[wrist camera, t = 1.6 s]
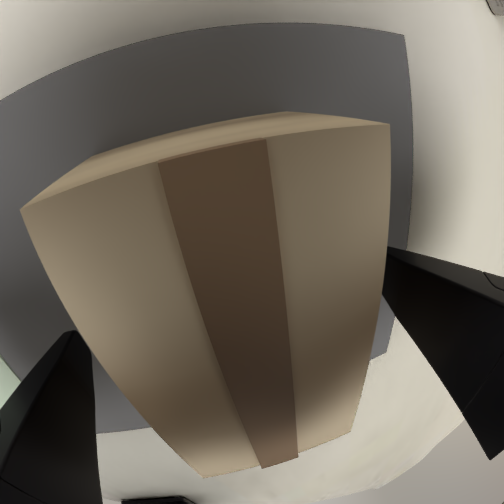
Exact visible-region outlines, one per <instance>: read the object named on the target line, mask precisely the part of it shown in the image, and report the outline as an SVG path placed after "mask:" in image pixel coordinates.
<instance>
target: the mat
mask: <svg viewBox="0 0 504 504" xmlns="http://www.w3.org/2000/svg"><path fill="white" fill-rule="evenodd" d="M286 111H288V112H302V113H314V114H324V115H333V116H341V117H349V118H356V119H363V120H369V121H375V122H381V123H387V124H390V139H391V191H390V214H389V230H388V242H387V246H390V247H394V248H398V249H402V250H406V248H407V240H408V231H409V221H410V210H411V195H412V174H413V122H412V102H411V89H410V78H409V68H408V60H407V53H406V46H405V39H404V35H401V34H396V33H391V32H385V31H380V30H374V29H367V28H360V27H352V26H342V25H331V24H315V23H258V24H242V25H231V26H221V27H213V28H206V29H199V30H193V31H187V32H181V33H176V34H171V35H166V36H162V37H157V38H153V39H149V40H145V41H141V42H137V43H134V44H130V45H127V46H123V47H120V48H117V49H113V50H110V51H107V52H104V53H101V54H98V55H96V56H93V57H90V58H87V59H85V60H82V61H79V62H77V63H74V64H72V65H70V66H67V67H65V68H62V69H60V70H58V71H56V72H53V73H51V74H49V75H47V76H45V77H43V78H41V79H39V80H37V81H35V82H33V83H31V84H29V85H27V86H25V87H23V88H21V89H19V90H18V91H16V92H14V93H12V94H10V95H9V96H7V97H5V98H4V99H2V100H0V409H1V408H2V406H3V405H4V404H5V402H6V401H7V400H8V398H9V397H10V396H11V394H12V393H13V392H14V391H15V389H16V388H17V387H18V386H19V384H20V383H21V382H22V381H23V379H24V378H25V377H26V376H27V374H28V373H29V372H30V371H31V370H32V368H33V367H34V366H35V365H36V364H37V362H38V361H39V360H40V359H41V358H42V357H43V355H44V354H45V353H46V352H47V351H48V350H49V348H50V347H51V346H52V345H53V344H54V343H55V342H56V340H57V339H58V338H59V337H60V336H61V335H62V334H63V333H64V332H66V331H70V330H77V331H78V332H79V330H78V329H77V327H76V325H75V324H74V322H73V320H72V319H71V317H70V315H69V314H68V312H67V310H66V309H65V307H64V305H63V303H62V301H61V300H60V298H59V296H58V294H57V292H56V290H55V288H54V287H53V285H52V283H51V281H50V279H49V277H48V275H47V273H46V271H45V269H44V267H43V264H42V262H41V260H40V258H39V256H38V254H37V251H36V249H35V247H34V245H33V242H32V240H31V238H30V235H29V233H28V230H27V228H26V225H25V223H24V220H23V217H22V215H21V212H20V209H21V208H22V207H23V206H24V205H26V204H27V203H28V202H29V201H30V200H32V199H33V198H34V197H35V196H37V195H38V194H39V193H41V192H42V191H43V190H44V189H46V188H47V187H48V186H50V185H51V184H52V183H54V182H55V181H57V180H58V179H59V178H61V177H62V176H63V175H65V174H66V173H68V172H69V171H71V170H72V169H73V168H75V167H76V166H78V165H79V164H81V163H82V162H84V161H85V160H87V159H88V158H90V157H92V156H94V155H97V154H100V153H103V152H106V151H109V150H112V149H115V148H118V147H121V146H124V145H128V144H131V143H134V142H138V141H141V140H145V139H148V138H152V137H156V136H159V135H163V134H167V133H171V132H175V131H179V130H183V129H188V128H192V127H197V126H201V125H206V124H211V123H216V122H221V121H226V120H232V119H237V118H243V117H249V116H256V115H263V114H270V113H277V112H286ZM394 318H395V315H394V313H393V312H392V310H391V309H390V307H389V305H388V304H387V302H386V300H385V299H384V297H383V295H382V294H381V301H380V307H379V314H378V320H377V325H376V331H375V336H374V341H373V346H372V351H371V356H370V360H371V359H373V358H375V357H378V356H380V355H382V354H384V353H386V351H387V347H388V343H389V339H390V335H391V331H392V327H393V322H394ZM79 333H80V332H79ZM80 335H81V334H80ZM81 336H82V335H81ZM82 338H83V337H82ZM83 340H84V338H83ZM84 341H85V340H84ZM85 343H86V341H85ZM86 344H87V343H86ZM87 346H88V344H87ZM88 347H89V346H88ZM89 349H90V347H89ZM90 351H91V354H92V366H93V380H94V391H95V415H96V434H98V433H109V432H119V431H127V430H135V429H142V428H149V427H151V426H150V425H149V424H148V423H147V422H146V420H145V419H144V418H143V417H142V416H141V415H140V414H139V412H138V411H137V410H136V409H135V408H134V406H133V405H132V404H131V403H130V402H129V400H128V399H127V398H126V397H125V395H124V394H123V393H122V392H121V390H120V389H119V388H118V387H117V385H116V384H115V383H114V381H113V380H112V379H111V377H110V376H109V375H108V373H107V372H106V370H105V369H104V368H103V366H102V365H101V363H100V362H99V361H98V359H97V358H96V356H95V355H94V353H93V352H92V350H91V349H90Z"/></svg>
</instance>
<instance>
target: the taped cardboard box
mask: <svg viewBox="0 0 504 504" xmlns="http://www.w3.org/2000/svg"><path fill="white" fill-rule="evenodd" d="M390 191H391V139H390V124H387V123H381V122H375V121H369V120H363V119H356V118H349V117H341V116H333V115H324V114H314V113H302V112H288V111H286V112H277V113H270V114H263V115H256V116H249V117H243V118H237V119H232V120H226V121H221V122H216V123H211V124H206V125H201V126H197V127H192V128H188V129H183V130H179V131H175V132H171V133H167V134H163V135H159V136H156V137H152V138H148V139H145V140H141V141H138V142H134V143H131V144H128V145H124V146H121V147H118V148H115V149H112V150H109V151H106V152H103V153H100V154H97V155H94V156H92V157H90V158H88V159H87V160H85V161H84V162H82V163H81V164H79V165H78V166H76V167H75V168H73V169H72V170H71V171H69V172H68V173H66V174H65V175H63V176H62V177H61V178H59V179H58V180H57V181H55V182H54V183H52V184H51V185H50V186H48V187H47V188H46V189H44V190H43V191H42V192H41V193H39V194H38V195H37V196H35V197H34V198H33V199H32V200H30V201H29V202H28V203H27V204H26V205H24V206H23V207H22V208H21V209H20V212H21V215H22V217H23V220H24V223H25V225H26V228H27V230H28V233H29V235H30V238H31V240H32V242H33V245H34V247H35V249H36V251H37V254H38V256H39V258H40V260H41V262H42V264H43V267H44V269H45V271H46V273H47V275H48V277H49V279H50V281H51V283H52V285H53V287H54V288H55V290H56V292H57V294H58V296H59V298H60V300H61V301H62V303H63V305H64V307H65V309H66V310H67V312H68V314H69V315H70V317H71V319H72V320H73V322H74V324H75V325H76V327H77V329H78V330H79V332H80V334H81V335H82V337H83V338H84V340H85V341H86V343H87V344H88V346H89V347H90V349H91V350H92V352H93V353H94V355H95V356H96V358H97V359H98V361H99V362H100V363H101V365H102V366H103V368H104V369H105V370H106V372H107V373H108V375H109V376H110V377H111V379H112V380H113V381H114V383H115V384H116V385H117V387H118V388H119V389H120V390H121V392H122V393H123V394H124V395H125V397H126V398H127V399H128V400H129V402H130V403H131V404H132V405H133V406H134V408H135V409H136V410H137V411H138V412H139V414H140V415H141V416H142V417H143V418H144V419H145V420H146V422H147V423H148V424H149V425H150V426H151V427H152V428H153V429H154V430H155V431H156V433H157V434H158V435H159V436H160V437H161V438H162V439H163V440H164V441H165V442H166V443H167V444H168V445H169V446H170V447H171V448H172V449H173V450H174V451H175V452H176V453H177V454H178V455H179V456H180V457H181V458H182V459H183V460H184V461H185V462H186V463H187V464H188V465H189V466H190V467H192V468H193V469H194V470H195V471H196V472H197V473H198V474H199V475H200V476H201V477H203V478H208V477H213V476H218V475H223V474H227V473H232V472H236V471H240V470H244V469H248V468H252V467H255V466H259V465H261V468H262V469H263V468H266V467H270V466H273V465H276V464H279V463H282V462H286V461H289V460H292V459H294V458H297V457H298V453H300V452H302V451H305V450H308V449H310V448H313V447H316V446H318V445H321V444H323V443H326V442H328V441H331V440H333V439H335V438H338V437H340V436H342V435H345V434H347V433H349V432H350V431H351V428H352V425H353V422H354V418H355V415H356V411H357V408H358V404H359V401H360V397H361V393H362V389H363V385H364V381H365V377H366V373H367V369H368V365H369V360H370V356H371V351H372V346H373V341H374V336H375V331H376V325H377V320H378V314H379V307H380V301H381V294H382V287H383V280H384V272H385V263H386V253H387V242H388V230H389V214H390Z"/></svg>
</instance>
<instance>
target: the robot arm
mask: <svg viewBox="0 0 504 504" xmlns="http://www.w3.org/2000/svg"><path fill="white" fill-rule="evenodd" d="M382 295H383V297H384V299H385V300H386V302H387V304H388V305H389V307H390V309H391V310H392V312H393V313H394V315H395V316H396V318H397V319H398V320H399V322H400V323H401V324H402V326H403V327H404V329H405V330H406V331H407V333H408V334H409V335H410V337H411V338H412V339H413V341H414V342H415V344H416V345H417V346H418V348H419V349H420V351H421V352H422V354H423V355H424V356H425V358H426V359H427V361H428V362H429V364H430V365H431V367H432V368H433V369H434V371H435V372H436V374H437V375H438V377H439V378H440V380H441V381H442V383H443V384H444V386H445V387H446V389H447V390H448V392H449V394H450V395H451V397H452V398H453V400H454V401H455V403H456V405H457V406H458V408H459V409H460V411H461V412H462V414H463V416H464V418H465V419H466V421H467V423H468V424H469V426H470V427H471V429H472V431H473V433H474V434H475V436H476V438H477V440H478V441H479V443H480V445H481V447H482V448H483V450H484V452H485V454H486V456H487V457H488V459H489V460H492V459H493V458H494V457H495V456H497V455H498V454H499V453H500V452H502V451H503V450H504V277H501V276H497V275H494V274H490V273H487V272H482V271H480V270H476V269H473V268H469V267H466V266H462V265H458V264H455V263H451V262H448V261H444V260H440V259H437V258H433V257H429V256H425V255H421V254H418V253H414V252H410V251H406V250H402V249H398V248H394V247H390V246H387V253H386V263H385V272H384V280H383V287H382ZM0 504H103V502H102V495H101V487H100V479H99V469H98V458H97V443H96V415H95V391H94V380H93V366H92V354H91V351H90V349H89V347H88V346H87V344H86V343H85V341H84V340H83V338H82V336H81V335H80V333H79V332H78V331H77V330H70V331H66V332H64V333H63V334H62V335H61V336H60V337H59V338H58V339H57V340H56V342H55V343H54V344H53V345H52V346H51V347H50V348H49V350H48V351H47V352H46V353H45V354H44V355H43V357H42V358H41V359H40V360H39V361H38V362H37V364H36V365H35V366H34V367H33V368H32V370H31V371H30V372H29V373H28V374H27V376H26V377H25V378H24V379H23V381H22V382H21V383H20V384H19V386H18V387H17V388H16V389H15V391H14V392H13V393H12V394H11V396H10V397H9V398H8V400H7V401H6V402H5V404H4V405H3V406H2V408H1V409H0ZM121 504H194V503H192V502H190V501H189V500H187V499H185V498H183V497H176V498H167V499H156V500H140V501H121ZM502 504H504V502H503V503H502Z"/></svg>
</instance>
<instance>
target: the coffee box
mask: <svg viewBox="0 0 504 504" xmlns="http://www.w3.org/2000/svg"><path fill="white" fill-rule="evenodd" d="M487 2H488V4H489V6H490V8H491V11H492V12H493V13H494V14H495V15H504V0H487Z"/></svg>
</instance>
